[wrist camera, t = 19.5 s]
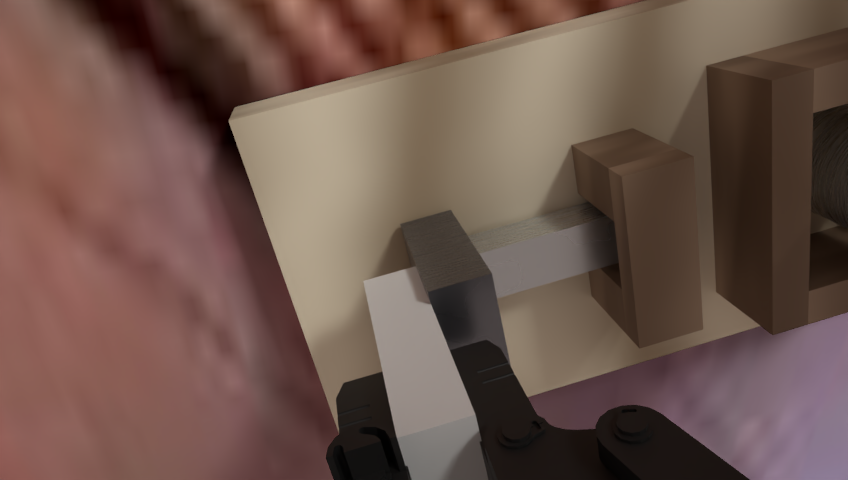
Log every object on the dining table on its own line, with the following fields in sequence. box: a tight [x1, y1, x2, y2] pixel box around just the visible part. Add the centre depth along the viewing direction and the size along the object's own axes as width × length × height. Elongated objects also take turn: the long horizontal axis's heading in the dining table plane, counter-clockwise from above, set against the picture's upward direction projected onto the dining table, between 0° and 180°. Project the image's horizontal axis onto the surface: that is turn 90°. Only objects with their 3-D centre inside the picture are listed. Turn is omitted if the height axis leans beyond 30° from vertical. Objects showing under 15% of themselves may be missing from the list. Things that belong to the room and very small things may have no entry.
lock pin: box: [400, 202, 619, 366], centre depth 19 cm, size 9×4×5 cm, turn 103°
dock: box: [229, 0, 848, 432], centre depth 21 cm, size 24×12×5 cm, turn 103°
